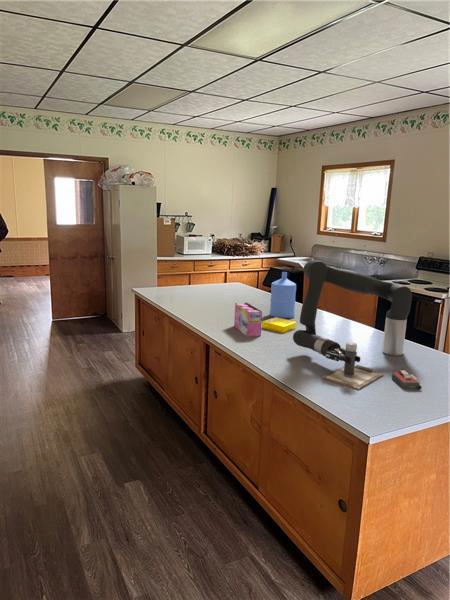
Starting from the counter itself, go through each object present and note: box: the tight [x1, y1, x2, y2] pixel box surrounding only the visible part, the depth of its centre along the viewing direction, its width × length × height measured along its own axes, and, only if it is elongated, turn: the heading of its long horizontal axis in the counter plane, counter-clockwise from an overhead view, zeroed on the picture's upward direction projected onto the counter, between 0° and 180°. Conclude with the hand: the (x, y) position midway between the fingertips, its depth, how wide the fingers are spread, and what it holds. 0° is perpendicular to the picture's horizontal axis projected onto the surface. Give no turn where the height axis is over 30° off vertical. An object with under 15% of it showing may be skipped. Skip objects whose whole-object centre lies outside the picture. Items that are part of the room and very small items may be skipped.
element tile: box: [261, 317, 297, 334], centre depth 248 cm, size 15×15×5 cm
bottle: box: [343, 341, 358, 378], centre depth 175 cm, size 4×4×14 cm
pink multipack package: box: [233, 302, 263, 338], centre depth 240 cm, size 24×8×14 cm, turn 18°
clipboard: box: [320, 364, 385, 391], centre depth 177 cm, size 22×16×2 cm
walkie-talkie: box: [391, 368, 422, 390], centre depth 175 cm, size 9×4×20 cm
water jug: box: [269, 271, 297, 319], centre depth 275 cm, size 16×16×28 cm
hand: (355, 360), depth 172 cm, fingers closed on bottle, 4 cm apart
